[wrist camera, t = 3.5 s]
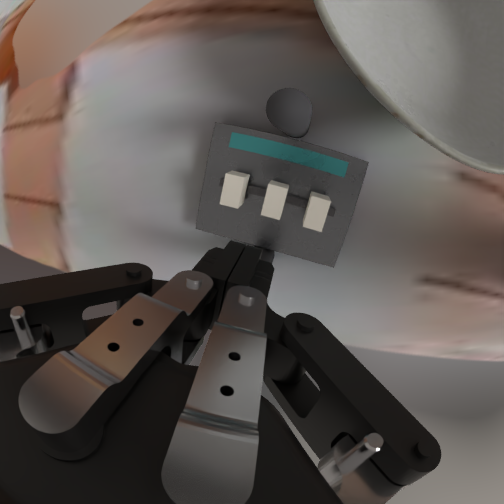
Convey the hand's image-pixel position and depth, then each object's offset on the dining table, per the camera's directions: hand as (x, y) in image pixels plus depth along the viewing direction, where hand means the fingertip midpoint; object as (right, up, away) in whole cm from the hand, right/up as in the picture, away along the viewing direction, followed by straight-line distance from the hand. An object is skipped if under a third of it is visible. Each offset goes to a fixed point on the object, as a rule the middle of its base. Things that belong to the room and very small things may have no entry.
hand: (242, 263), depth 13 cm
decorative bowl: (+20, +23, +7) cm, 31 cm away
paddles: (+3, +6, +14) cm, 16 cm away
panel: (+3, +7, +17) cm, 19 cm away
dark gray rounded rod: (+5, +14, +14) cm, 20 cm away
